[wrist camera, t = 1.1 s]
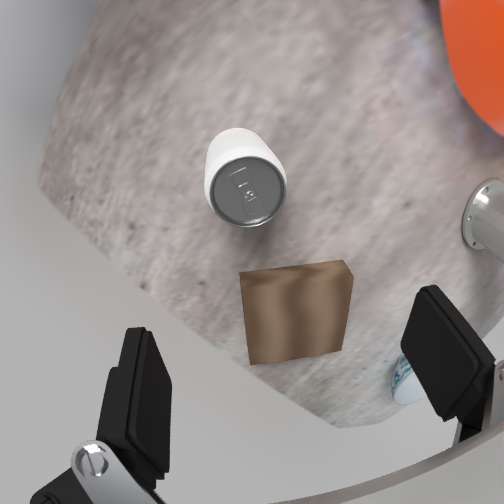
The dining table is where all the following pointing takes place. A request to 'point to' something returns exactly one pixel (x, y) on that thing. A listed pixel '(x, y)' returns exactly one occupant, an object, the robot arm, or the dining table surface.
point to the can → (243, 179)
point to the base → (295, 310)
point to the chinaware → (406, 384)
